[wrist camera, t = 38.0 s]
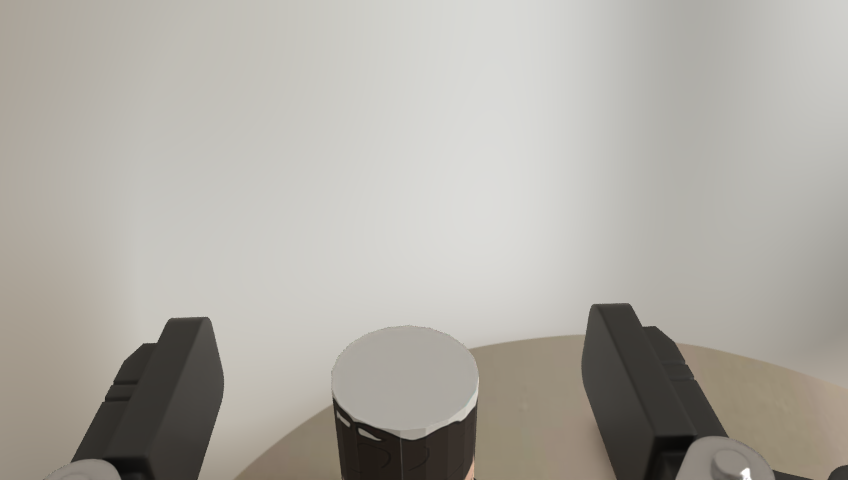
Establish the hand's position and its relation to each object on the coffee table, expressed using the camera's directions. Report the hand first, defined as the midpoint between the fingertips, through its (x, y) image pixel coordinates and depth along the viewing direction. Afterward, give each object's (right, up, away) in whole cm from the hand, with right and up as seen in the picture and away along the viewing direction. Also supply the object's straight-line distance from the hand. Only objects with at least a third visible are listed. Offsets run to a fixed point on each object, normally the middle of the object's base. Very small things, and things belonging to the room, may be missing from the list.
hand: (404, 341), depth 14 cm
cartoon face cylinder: (0, -17, +23) cm, 29 cm away
